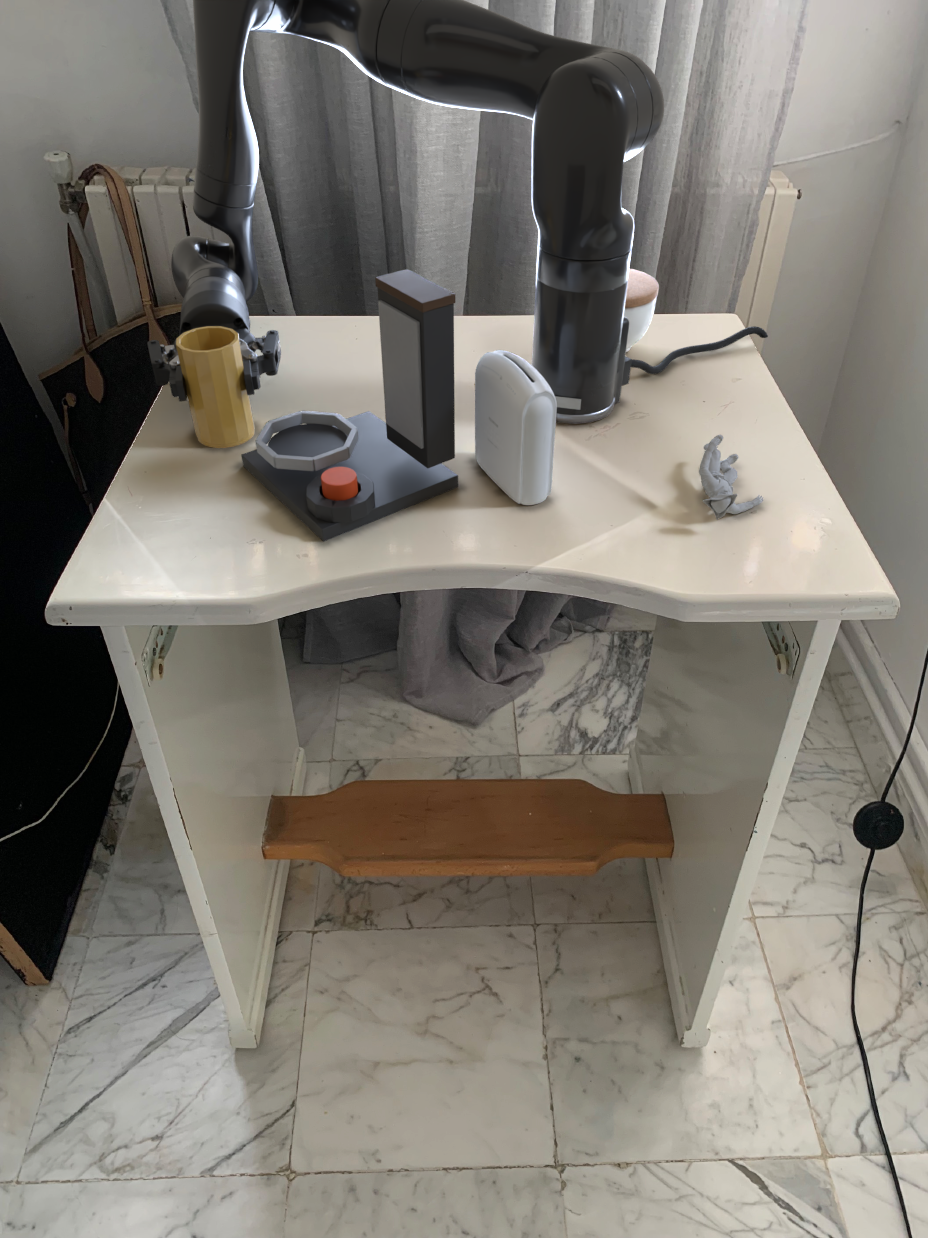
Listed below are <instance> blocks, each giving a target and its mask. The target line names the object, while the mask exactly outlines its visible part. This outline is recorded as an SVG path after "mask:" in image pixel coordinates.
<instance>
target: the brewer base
mask: <svg viewBox="0 0 928 1238" xmlns="http://www.w3.org/2000/svg"><path fill="white" fill-rule="evenodd" d="M345 419H346V420H348V421H349V422H350V423H352V424H353V425H354V426H356V427H357V429H358V442H357V444H356V446H355V448H354V450H353V452H352V455H351V457H350V458H348V460H345V461H342V462H339V463H337V464H334V465H331V466H328V467H326V468H323V469H320V470H317V471H315V470H314V471H302V470H289V469H277V468H274V467H273V466H272V465H271V464H270V463H269V462H268V461H266V460H265V459H264V458H263V457H262V456H261V455H260V454H259V453H258V452H257V448H256V449H253V450H250V451H246V452H244V453H242V454H241V455H240V456H241V462H242V466H243V468H245V469H246V470H247V471H248V472H249V473H250V474H251V475H252V476H253V477H254V478H255V479H256V480H257V481H258V482H259V483H261V484H262V486H263V487H265V488H266V489H267V490H268V491H269V492H270V493H271V494H272V495H273V496H274V497H275V498H276V499H278V501H279V502H281V503H282V504H283V505H284V506H285V507H286V508H287V509H288V510H289V511H290V512H291V513H292V514H293V515H295V516H296V517H297V519H299V520H300V521H301V522H302V523H303V524H304V525H305V526H306V527H307V528H308V529H309V530H310V531H311V532H313V533H314V535H316V536H317V537H318V538H319V539H320V540H321V541H322V542H326V541H329V540H332V539H334V538H337V537H339V536H342V535H343V534H346V533H349V532H352V531H353V530H356V529H358V528H361V527H363V526H366V525H368V524H371V523H374V522H375V521H378V520H381V519H383V518H386V517H388V516H390V515H392V514H393V515H394V514H396V513H398V512H400V511H402V510H403V511H404V510H406V509H408V508H411V507H412V506H416V505H417V504H420V503H422V502H426V501H428V500H429V499H432V498H434V497H437V496H440V495H442V494H444V493H448V492H450V491H452V490H454V489H456V488H459V474H458V473H456V472H454V471H453V470H452V469H450V468H449V467H448V466H446V465H445V464H444V463H441V464H438V465H436V466H433V467H431V468H426V467H425V466H424V465H422V464H421V463H419V462H418V461H417V460H415V459H414V458H413V457H411V456H410V455H409V454H407V453H406V452H405V451H403V450H402V449H401V448H399V447H398V446H396V445H395V444H394V443H392V442H391V441H390V440H388V439H387V430H386V421H384V420H382V419H381V417H378V416H377V415H376V414H374V413H373V412H371V411H370V410H367V411H365V412H362V413H359V414H356V415H353V416H350V417H346V418H345ZM332 427H335V428H337V427H336V426H332ZM337 429H338V428H337ZM339 430H340V429H339ZM346 436H347V435H346ZM347 438H348V436H347ZM334 467H347V468H350V469H352V470H354V471H355V472H356V475H357V485H358V493H357V495H356V496H355V497H352V498H350V499H347V500H340V501H334V500H330V499H326V498H325V497H324V496H323V492H322V483H321V475H322V473H323V472H324V471H326V470H328V469H330V468H334Z"/></svg>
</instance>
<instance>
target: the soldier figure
mask: <svg viewBox="0 0 928 1238" xmlns="http://www.w3.org/2000/svg"><path fill="white" fill-rule="evenodd" d="M723 440H724V436H723V435H722V434H718V435H716V436H714V437H713V438H712V439H711V440H710V441H709V442H708V443H705V444H704V446H703V450H704V452H703V455H702V458H701V460H700V464H699V468H698V475H699V476H700V482H701V487H703V490H704V491H705V495H706V496H708V498H705V499H702V503H704V504H705V505H706V506H707V507H708V508H710V510H711V511H712V512H713V514H714V516H715V520H716V521H718V520H719V519H721V518H723V517H724V516H725V515H726V513H727V514H732V515H737V514H740V513H744V512H746V511H748V510H751V509H753V508H754V507H757V506H759V505H760V504H761V503H763V502H764V497H763V496H762V495H760V494H758V496H756V497H755V498H753V499H752V500H747V501H745V502H742V503H736V502H735V501H736V499H737V498H738V494H737V493H734V487H733V484H734V483H735V481H736V480H737V479H738V477H739V475H738V470H737V469H735V467H732V466H731V465H733V464H735V463H737V461H738V459H739V455H738V454H737V453H733V454H730V455H728V457H727V458H726V459H723V460H721V457H722V453H721V450H720V449H718V448H719V445H720V444H721V443H722V442H723ZM721 472H722V473H721Z"/></svg>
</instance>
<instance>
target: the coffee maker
mask: <svg viewBox="0 0 928 1238" xmlns="http://www.w3.org/2000/svg"><path fill="white" fill-rule="evenodd" d="M374 281H375V287H376V288H377V304H378V319H379V321H378V323H379V335H380V351H381V352H380V353H381V369H382V381H383V382H382V383H383V398H384V399H383V400H384V411H385V412H384V413H385V416H384V417H385V423H386V430H387V439H388V440H390V441H391V442H392V443H394V444H395V445H396V446H398V447H399V448H401V449H402V450H403V451H405V452H406V453H407V454H409V455H410V456H411V457H413V458H414V459H415V460H417V461H418V462H419V463H421V464H422V465H424V466H425V467H426V468H431V467H433V466H436V465H438V464H441V463H442V464H444V463H445V462H448V461H451V460H454V459H456V433H455V431H456V430H455V429H456V427H455V425H456V423H455V422H456V421H455V418H456V417H455V415H456V414H455V316H454V315H455V307H454V304H456V293H454V292H453V291H451V290H449V289H447V288H445V287H443V286H441V285H439V284H437V283H435V282H433V281H432V280H430V279H427V278H426V277H424V276H421V274H418V273H416V272H414V271H413V270H410V269H408V268H406V269H401V270H398V271H394V272H390V273H386V274H383V275H379V276H375V277H374ZM346 419H347V418H345V417H344V416H342V414H340V413H337V412H326V411H316V410H315V411H313V410H298V411H295V412H292V413H288V414H286V415H283V416H280V417H276V418H273V419H271V420H268V421H267V422H265V423H264V426H263V427H262V429H261V430H260V431H259V433H258V435H257V437H256V438H255V441H254V443H255V448H256V449H257V452H258V453H259V454H260V455H261V456H262V457H263V458H264V459H265V460H266V461H268V462H269V463H270V464H271V465H272V466H273V467H274V468H277V469H289V470H302V471H314V470H315V471H317V470H320V469H323V468H326V467H328V466H331V465H334V464H337V463H339V462H342V461H345V460H348V458H350V457H351V455H352V452H353V450H354V448H355V446H356V444H357V442H358V429H357V427H356V426H354V425H353V424H352V423H350V422H349V421H348V420H346ZM332 426H336V427H337V428H338V429H337V428H335V427H332ZM339 429H340V430H339ZM346 435H347V436H348V438H347V436H346Z"/></svg>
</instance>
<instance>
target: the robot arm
mask: <svg viewBox="0 0 928 1238" xmlns="http://www.w3.org/2000/svg"><path fill="white" fill-rule="evenodd" d="M192 8H193V9H192V10H193V27H194V29H193V30H194V48H195V67H196V68H195V69H196V80H197V82H196V83H197V99H198V100H197V101H198V138H197V150H196V161H195V172H194V183H193V193H192V194H193V195H192V210H193V213H194V215H195V216H196V217H197V219H199V220H200V221H202V222H203V223H204V224H206V225H208V226H209V227H212V228H214V229H216V230H218V231H220V232H222V233H224V234H225V235H226V236H228V238H230V241H231V242H228V241H222V240H218V239H214V238H213V239H212V238H207V237H205V236H199V235H187V236H184V237H183V238H180V240H178V241H177V242H176V244H175V246H174V248H173V250H172V253H171V259H170V260H171V261H170V262H171V263H170V268H171V275H172V277H173V281H174V285H175V287H176V289H177V291H178V292H179V294H180V296H181V297H182V298H183V300H182V302H181V307H180V322H179V334H178V335H179V336H180V335H181V334H182V333H184V332H187V331H189V330H192V329H195V328H200V327H206V326H222V327H226V328H230V329H233V330H234V331H236V332H237V333H238V334H239V339H240V345H241V351H242V356H243V362H244V379H245V385H246V391H247V395H249V396H253V395H254V396H255V391H257V390H260V388H261V376H262V375H264V374H265V375H266V376H269V377H273V376H276V375H277V374H278V371H279V367H280V362H281V357H282V349H281V348H282V347H281V341H280V335H279V331H278V330H276V329H271V330H268V331H267V332H266V334H265V335H262V336H261V337H255V335H254V334H253V333H252V332H251V318H250V314H249V313H250V312H249V307H248V305H247V302H249V300H251V299H252V298H253V296H255V293H256V291H257V289H258V286H259V285H258V284H259V271H258V263H257V256H256V250H255V244H254V243H255V242H254V234H253V233H254V231H253V216H254V215H253V214H254V205H255V198H256V190H257V182H258V176H259V167H260V165H259V164H260V154H259V145H258V139H257V135H256V131H255V127H254V124H253V121H252V117H251V114H250V111H249V110H250V109H249V107H248V103H247V98H246V93H245V88H244V71H243V70H244V61H245V59H244V58H245V53H246V47H247V42H248V38H249V33H266V34H282V35H283V34H284V35H292V36H298V37H302V38H305V39H309V40H313V41H315V42H320V43H323V44H325V45H329V46H331V47H333V48H335V49H337V50H339V51H340V52H342V53H343V54H344V55H345V56H346V57H347V58H349V59H350V61H352V62H353V64H354V65H356V67H358V68H359V69H360V70H361V71H362V72H363V73H364V74H365V75H367V76H369V77H370V78H372V79H373V80H375V81H376V82H378V83H380V84H382V85H384V86H385V87H388V88H391V89H393V90H395V91H398V92H399V93H400V92H401V93H402V94H405V95H408V96H409V97H412V98H415V99H417V100H421V101H423V102H424V101H425V102H427V103H429V104H434V105H438V106H444V107H449V108H457V109H462V110H463V109H464V110H473V111H484V112H495V113H505V114H509V115H516V116H519V117H523V118H526V119H529V120H531V121H532V131H531V207H532V213H533V218H534V220H535V223H536V227H537V232H538V235H537V237H538V238H537V252H536V253H537V254H536V270H535V273H536V274H535V293H534V313H533V314H534V315H533V331H532V347H531V348H532V349H531V351H532V352H531V365H532V366H533V367H534V368H535V369H536V370H537V371H538V372H539V373H540V374H541V375H542V376H543V378H544V379H545V380H546V382H547V383H548V384H549V386H550V388H551V389H552V391H553V393H554V396H555V398H556V402H557V411H556V423H562V424H573V425H574V424H575V425H576V424H588V423H593V422H597V421H599V420H602V419H604V418H606V417H608V416H609V415H611V414H612V412H613V411H614V407H615V405H617V404H619V403H620V402H621V393H622V387H623V386H627V385H628V384H630V377H631V369H632V368H635V369H640V370H642V371H644V373H646V374H649V375H657V374H660V373H661V372H663V371H664V370H666V368H667V367H668V366H669V365H670V364H671V363H672V362H673V361H674V360H675V359H677V358H680V357H683V356H687V355H692V354H698V353H705V352H712V351H716V350H717V351H718V350H721V349H723V348H726V347H728V346H730V345H733V344H734V343H735V342H738V341H739V340H741V339H743V338H746V337H747V336H750V335H756V336H758V337H759V338H761V339H767V338H768V337H769V335H768V333H767V332H766V330H764V328H762V327H760V326H755V325H754V326H749V327H745V328H743V329H741V330H738V331H737V332H735V333H733V334H731V335H730V336H728V337H725V338H724V339H721V340H718V341H714V342H709V343H704V344H696V345H688V346H685V347H681V348H678V349H676V350H672V352H670V353H669V354H667V355H666V356H665V357H664V358H663V359H662V360H661V362H660V363H658V364H657V365H654V366H653V365H651V364H649V363H648V362H646V361H644V360H641V359H636V358H635V359H632V358H630V357H628V356H626V353H627V352H626V347H627V339H628V331H629V320H628V318H626V317H624V309H625V301H626V292H627V284H628V275H629V269H630V265H631V257H632V249H633V241H634V235H635V233H634V232H635V220H634V217H633V216H632V214H631V213H630V212H629V211H628V210H626V209H624V208H623V207H622V192H623V191H622V189H623V176H624V163H625V162H627V161H629V160H631V159H632V158H634V157H636V156H637V155H638V154H639V153H640V152H642V151H643V150H644V149H645V148H646V147H647V146H649V144H650V143H651V142H652V141H653V140H654V138H655V137H656V135H657V134H658V133H659V130H660V129H661V127H662V123H663V119H664V114H665V99H664V98H665V97H664V95H663V94H664V93H663V90H662V87H661V85H660V82H659V80H658V77H657V76H656V74H655V72H653V70H652V68H650V66H649V65H648V64H646V62H645V61H644V60H642V59H641V58H640V57H639V56H637V55H635V54H633V53H632V52H629V51H627V50H622V49H619V48H613V47H608V46H603V45H599V44H598V45H597V44H592V43H588V42H583V41H579V40H575V39H569V38H565V37H561V36H557V35H553V34H549V33H545V32H543V31H540V30H536V29H534V28H531V27H529V26H526V25H524V24H523V23H520V22H518V21H516V20H514V19H512V18H509V17H508V16H507V17H506V16H504V15H503V14H500V13H497V12H495V11H492V10H491V9H487V8H486V7H482V6H481V5H477V4H475V3H472V2H469V1H467V0H192ZM179 336H178V337H179ZM146 344H147V348H148V353H149V358H150V363H151V368H152V371H153V376H154V379H155V384H156V385H157V386H160V387H163V386H164V387H165V386H166V385H168V384H169V388H170V392H171V396H172V397H173V398H178V401H179V402H188V397H187V391H186V387H185V382H184V378H183V374H182V370H181V366H180V361H179V357H178V352H177V348H176V339H175V340H174V342H173V344H170V345H169V344H168V345H165V344H164V343H163V344H160V341H159V340H157V339H151V340H149V341H147V343H146ZM256 351H260V353H261V354H260V355H257V353H256Z"/></svg>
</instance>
